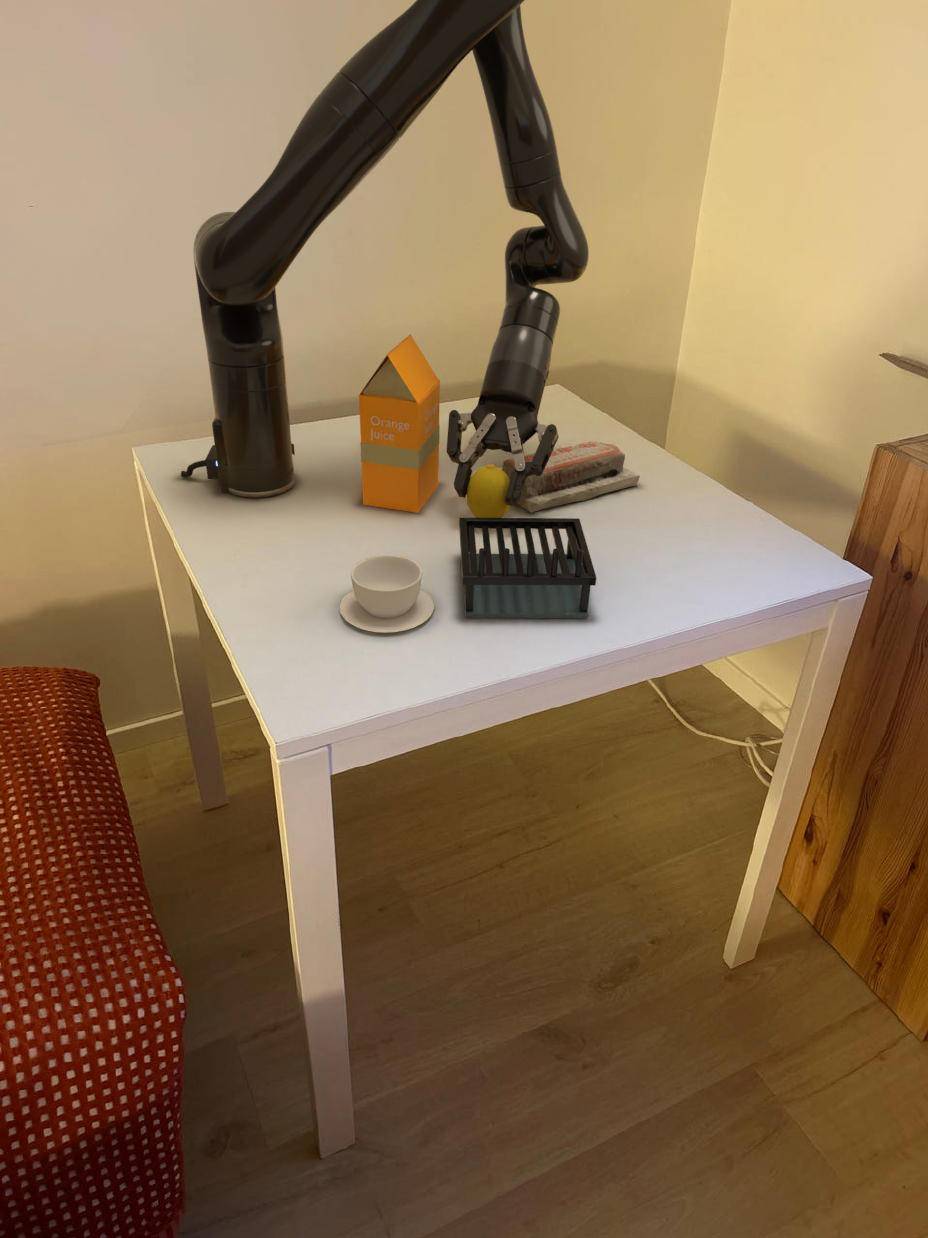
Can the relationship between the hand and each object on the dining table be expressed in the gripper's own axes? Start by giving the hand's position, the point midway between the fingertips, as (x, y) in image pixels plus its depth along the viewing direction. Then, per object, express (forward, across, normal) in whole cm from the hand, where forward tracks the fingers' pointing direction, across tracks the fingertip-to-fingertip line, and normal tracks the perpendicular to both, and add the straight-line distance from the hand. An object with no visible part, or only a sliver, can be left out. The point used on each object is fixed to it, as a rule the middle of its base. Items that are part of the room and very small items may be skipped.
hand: (485, 498), depth 112 cm
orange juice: (-1, -13, +7) cm, 15 cm away
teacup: (+18, -4, -12) cm, 22 cm away
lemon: (+2, 0, +4) cm, 5 cm away
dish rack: (+11, +8, -5) cm, 14 cm away
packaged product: (-8, +6, +14) cm, 18 cm away
